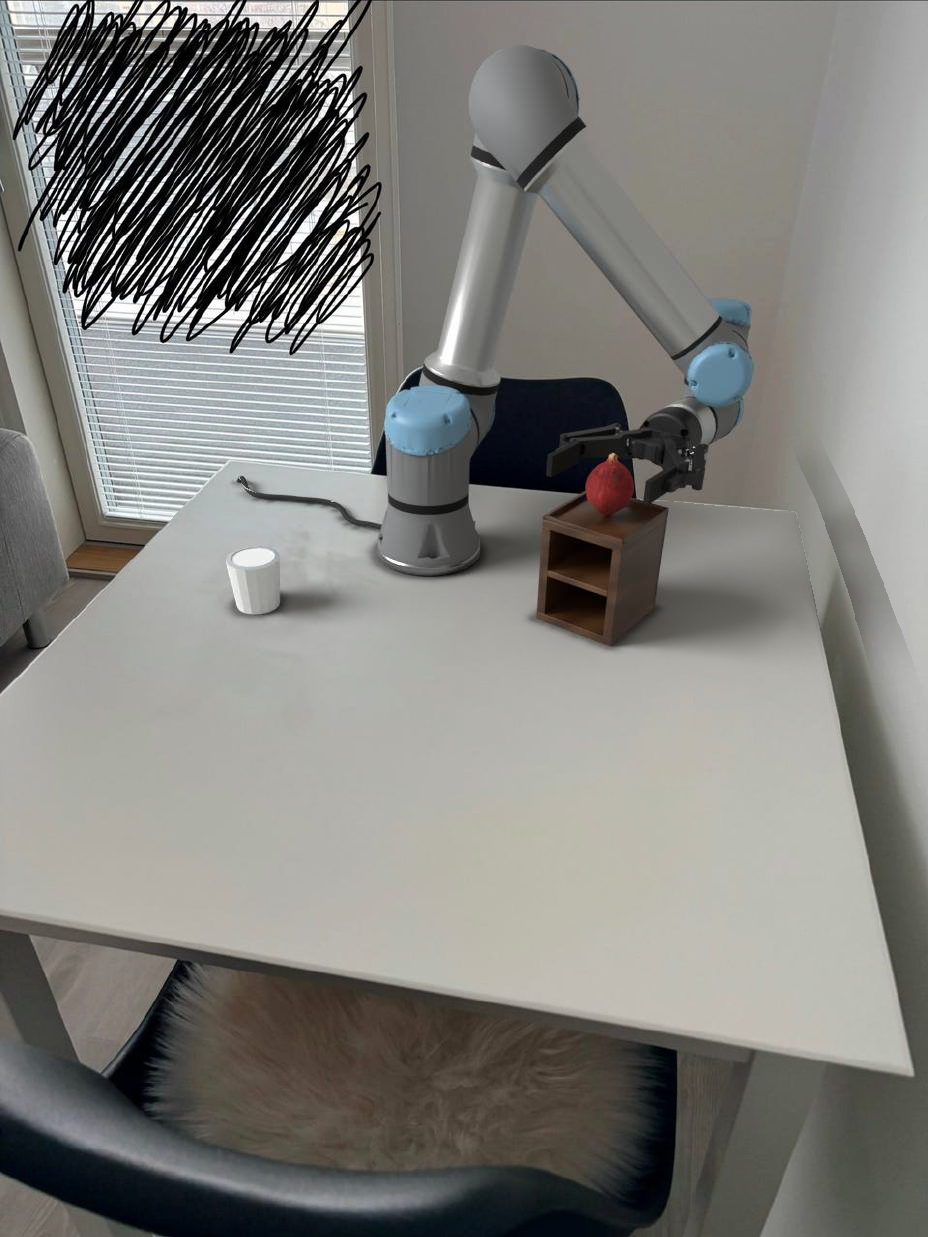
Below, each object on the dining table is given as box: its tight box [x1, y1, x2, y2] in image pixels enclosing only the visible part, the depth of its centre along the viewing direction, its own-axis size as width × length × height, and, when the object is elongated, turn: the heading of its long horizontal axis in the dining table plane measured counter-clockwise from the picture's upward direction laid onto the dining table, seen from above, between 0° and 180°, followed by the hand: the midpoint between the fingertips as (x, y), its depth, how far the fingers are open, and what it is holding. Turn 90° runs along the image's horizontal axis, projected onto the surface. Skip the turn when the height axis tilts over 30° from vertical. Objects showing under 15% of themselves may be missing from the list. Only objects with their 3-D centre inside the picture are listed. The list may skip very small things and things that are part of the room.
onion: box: [585, 453, 635, 516], centre depth 106 cm, size 6×6×8 cm
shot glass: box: [225, 545, 281, 616], centre depth 115 cm, size 7×7×7 cm
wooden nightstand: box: [535, 490, 670, 647], centre depth 112 cm, size 11×12×15 cm
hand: (596, 479), depth 103 cm, fingers open, 12 cm apart
